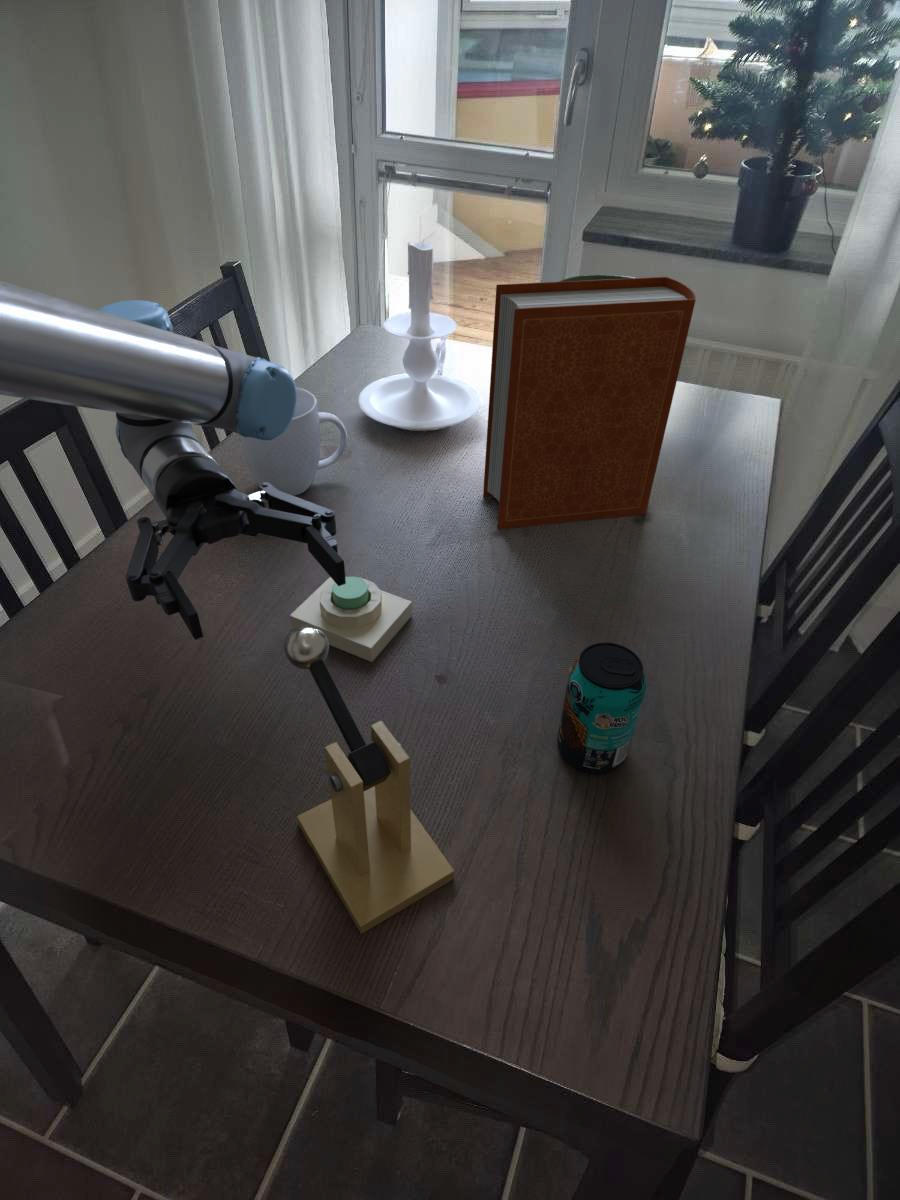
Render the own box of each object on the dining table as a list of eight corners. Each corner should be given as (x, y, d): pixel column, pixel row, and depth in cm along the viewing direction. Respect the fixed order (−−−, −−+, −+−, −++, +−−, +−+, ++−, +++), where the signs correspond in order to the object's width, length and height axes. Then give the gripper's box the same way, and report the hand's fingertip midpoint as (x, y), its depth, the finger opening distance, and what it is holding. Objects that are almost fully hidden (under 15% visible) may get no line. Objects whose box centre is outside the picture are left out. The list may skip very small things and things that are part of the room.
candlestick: (498, 389, 137) (510, 221, 119) (463, 455, 119) (471, 269, 101) (390, 373, 141) (386, 209, 123) (340, 435, 123) (326, 252, 105)
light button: (326, 603, 86) (325, 591, 85) (346, 583, 89) (345, 572, 88) (356, 615, 85) (355, 603, 83) (375, 594, 87) (374, 583, 86)
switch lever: (275, 645, 63) (278, 627, 60) (315, 630, 65) (319, 611, 62) (352, 798, 59) (359, 787, 56) (392, 778, 61) (401, 766, 58)
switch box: (291, 629, 88) (287, 603, 85) (335, 586, 94) (333, 560, 91) (372, 662, 84) (370, 636, 81) (412, 615, 90) (412, 589, 88)
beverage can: (559, 716, 79) (574, 632, 71) (627, 727, 78) (650, 643, 70) (553, 771, 74) (569, 686, 66) (626, 783, 73) (651, 698, 65)
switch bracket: (298, 824, 68) (279, 724, 59) (385, 779, 72) (380, 680, 63) (361, 934, 61) (350, 840, 52) (454, 878, 65) (460, 781, 56)
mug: (340, 457, 118) (334, 377, 109) (359, 494, 110) (354, 411, 101) (243, 472, 113) (228, 390, 105) (255, 512, 106) (240, 427, 97)
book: (497, 529, 104) (515, 309, 84) (483, 497, 110) (496, 284, 90) (652, 513, 108) (704, 299, 88) (630, 482, 114) (674, 276, 94)
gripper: (302, 485, 88) (395, 584, 74) (77, 553, 77) (138, 683, 64) (295, 426, 83) (393, 521, 70) (53, 490, 72) (115, 617, 59)
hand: (272, 599), depth 67 cm, fingers open, 13 cm apart
